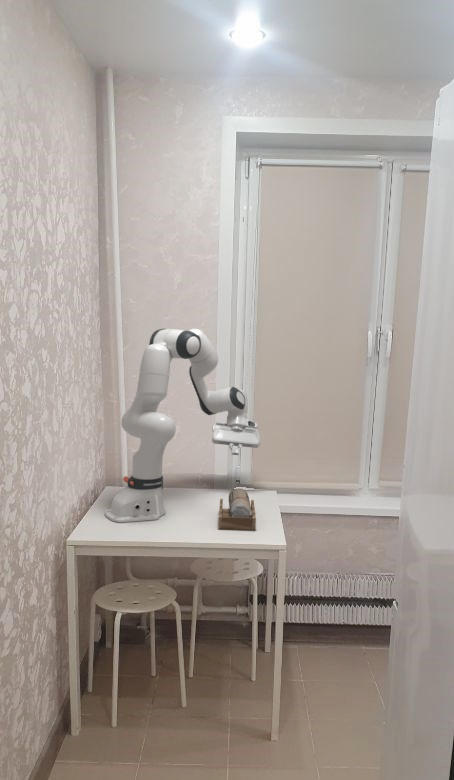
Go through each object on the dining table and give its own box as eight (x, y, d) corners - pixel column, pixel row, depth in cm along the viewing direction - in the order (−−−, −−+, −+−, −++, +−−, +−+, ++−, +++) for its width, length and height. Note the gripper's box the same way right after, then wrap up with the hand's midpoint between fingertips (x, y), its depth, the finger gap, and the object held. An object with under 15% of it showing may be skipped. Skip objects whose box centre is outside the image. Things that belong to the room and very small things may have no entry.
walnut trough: (219, 510, 234) (220, 498, 233) (253, 511, 234) (253, 499, 233) (218, 529, 212) (218, 517, 211) (255, 530, 212) (255, 518, 211)
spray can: (246, 511, 235) (250, 527, 215) (225, 506, 235) (228, 522, 215) (251, 490, 235) (256, 504, 215) (230, 486, 234) (233, 499, 214)
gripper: (213, 418, 254) (211, 448, 247) (261, 424, 256) (260, 453, 249) (211, 425, 259) (209, 454, 252) (258, 430, 261) (257, 459, 254)
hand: (235, 454), depth 250 cm, fingers closed
